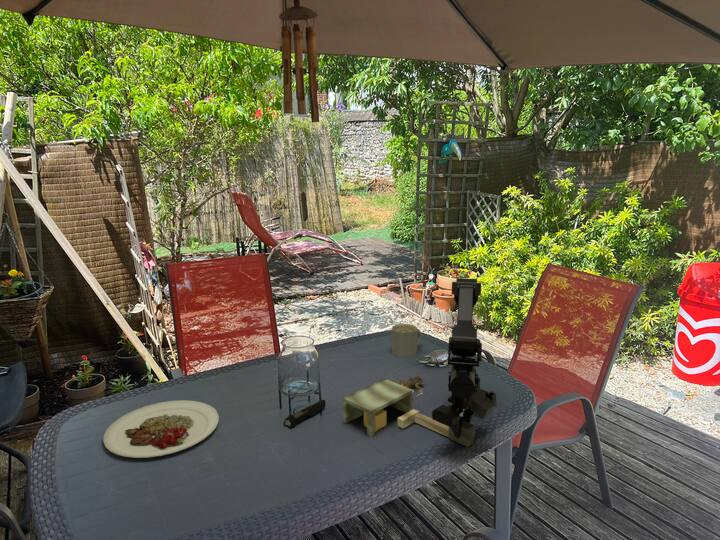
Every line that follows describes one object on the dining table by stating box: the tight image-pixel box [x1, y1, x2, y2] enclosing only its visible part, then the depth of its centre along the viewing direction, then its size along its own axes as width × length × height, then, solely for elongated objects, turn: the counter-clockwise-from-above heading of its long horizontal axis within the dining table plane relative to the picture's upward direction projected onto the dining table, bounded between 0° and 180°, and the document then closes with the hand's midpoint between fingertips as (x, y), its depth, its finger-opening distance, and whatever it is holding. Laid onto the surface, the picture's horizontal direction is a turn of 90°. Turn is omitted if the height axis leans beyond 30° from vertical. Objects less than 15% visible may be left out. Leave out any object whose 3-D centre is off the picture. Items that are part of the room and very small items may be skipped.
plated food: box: [102, 399, 220, 459], centre depth 141 cm, size 30×30×3 cm
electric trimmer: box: [282, 399, 327, 429], centre depth 147 cm, size 4×15×3 cm, turn 140°
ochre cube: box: [363, 408, 387, 432], centre depth 142 cm, size 4×4×4 cm
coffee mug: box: [391, 323, 422, 358], centre depth 195 cm, size 13×10×10 cm
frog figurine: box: [395, 375, 424, 397], centre depth 165 cm, size 12×12×4 cm
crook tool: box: [397, 408, 475, 448], centre depth 136 cm, size 8×20×5 cm, turn 45°
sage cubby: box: [342, 378, 414, 437], centre depth 146 cm, size 18×11×8 cm, turn 135°
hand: (461, 435), depth 133 cm, fingers closed on crook tool, 3 cm apart
